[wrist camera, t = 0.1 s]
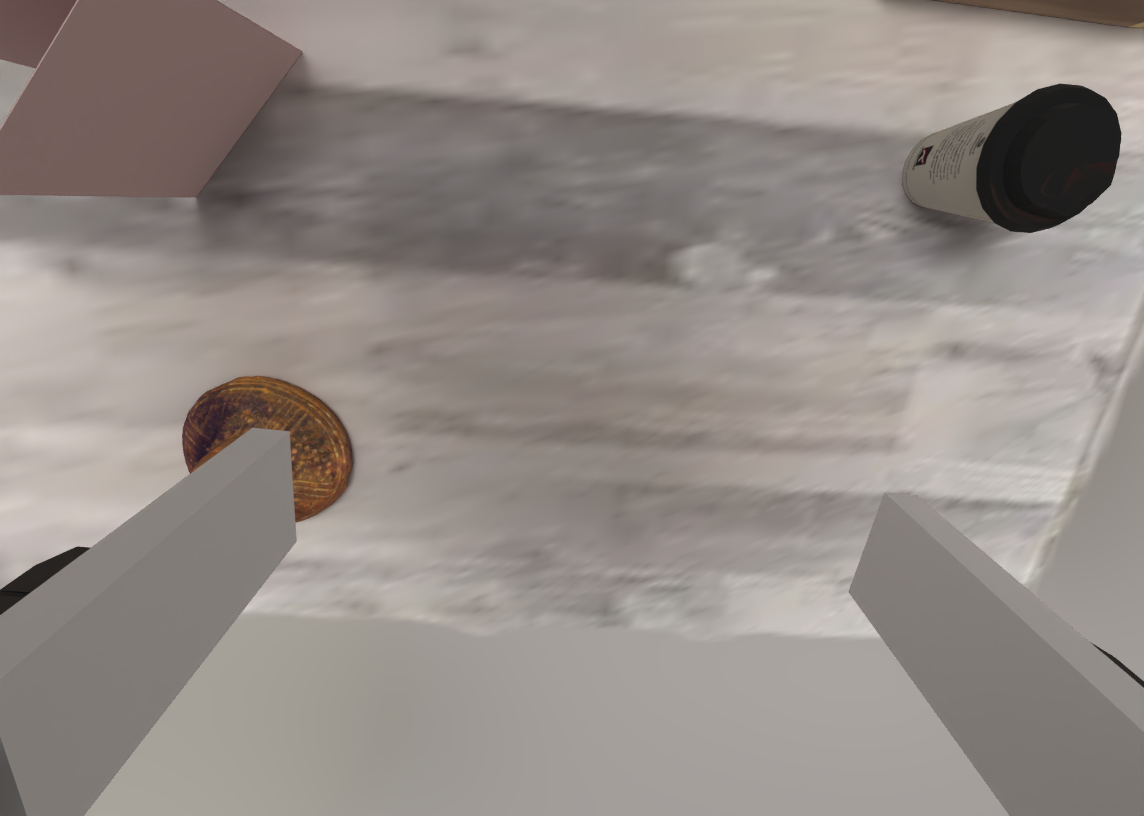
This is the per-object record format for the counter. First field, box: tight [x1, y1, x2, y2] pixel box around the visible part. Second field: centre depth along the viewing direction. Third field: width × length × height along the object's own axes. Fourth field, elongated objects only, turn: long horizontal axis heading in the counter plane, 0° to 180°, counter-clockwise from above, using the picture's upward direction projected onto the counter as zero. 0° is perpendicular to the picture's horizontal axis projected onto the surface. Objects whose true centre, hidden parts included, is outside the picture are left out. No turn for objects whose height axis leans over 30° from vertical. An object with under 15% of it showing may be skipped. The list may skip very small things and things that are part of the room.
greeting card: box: [0, 0, 302, 197], centre depth 27 cm, size 11×7×15 cm, turn 100°
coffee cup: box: [902, 84, 1121, 233], centre depth 32 cm, size 7×7×10 cm
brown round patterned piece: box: [182, 376, 352, 522], centre depth 39 cm, size 12×12×7 cm
